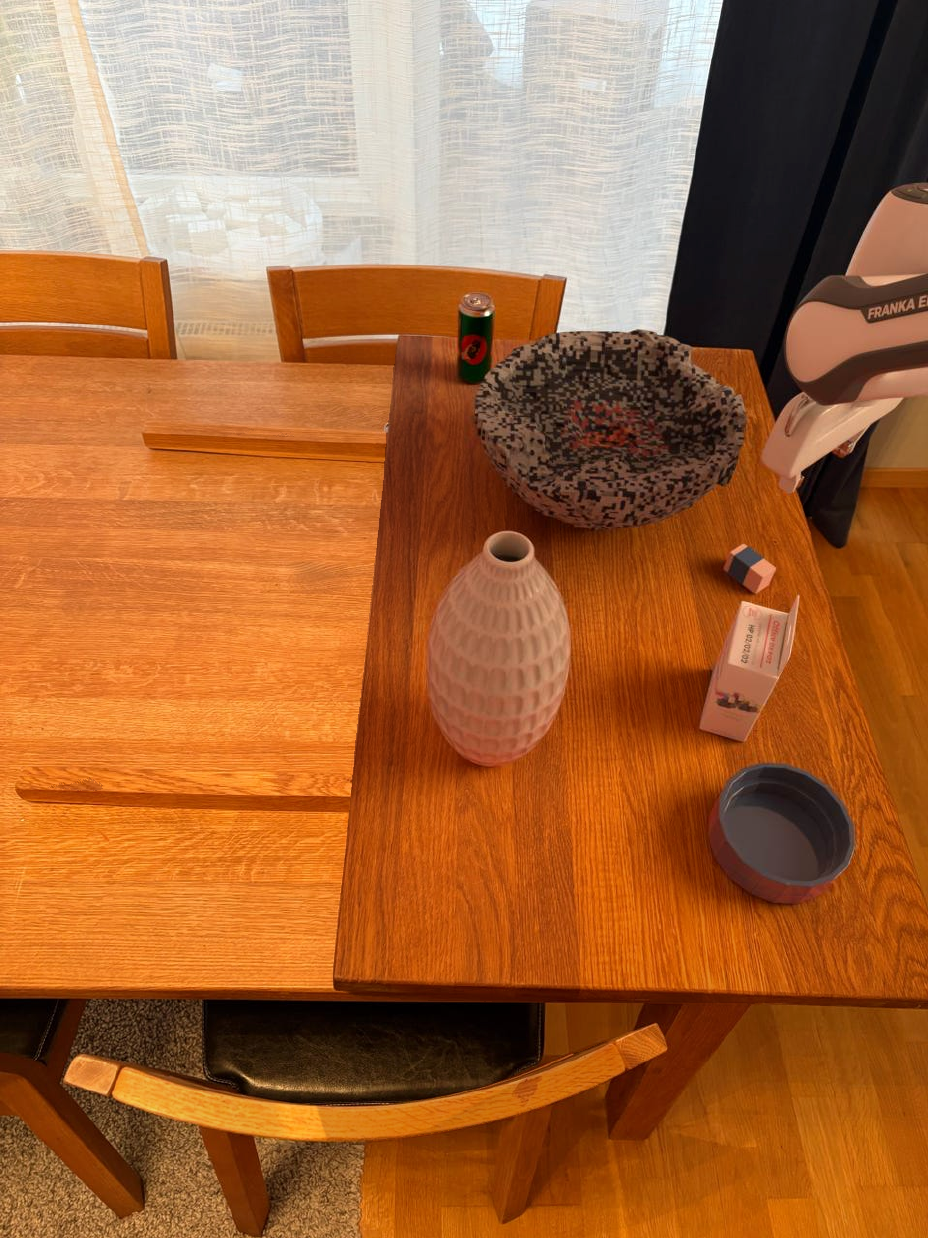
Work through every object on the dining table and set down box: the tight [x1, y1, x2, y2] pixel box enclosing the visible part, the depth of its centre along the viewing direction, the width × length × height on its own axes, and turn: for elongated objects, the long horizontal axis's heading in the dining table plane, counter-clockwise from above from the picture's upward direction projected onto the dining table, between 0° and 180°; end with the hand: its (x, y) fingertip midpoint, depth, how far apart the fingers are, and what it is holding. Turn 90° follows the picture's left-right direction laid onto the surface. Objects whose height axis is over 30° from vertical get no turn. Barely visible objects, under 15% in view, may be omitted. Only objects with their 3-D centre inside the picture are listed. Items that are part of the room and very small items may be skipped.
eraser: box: [722, 543, 777, 595], centre depth 101 cm, size 5×3×3 cm, turn 38°
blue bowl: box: [707, 762, 856, 905], centre depth 79 cm, size 12×12×4 cm
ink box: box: [698, 594, 800, 743], centre depth 84 cm, size 8×5×15 cm, turn 160°
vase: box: [425, 530, 572, 768], centre depth 76 cm, size 13×13×28 cm
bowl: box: [473, 328, 748, 531], centre depth 105 cm, size 31×31×15 cm
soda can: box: [456, 291, 496, 385], centre depth 121 cm, size 5×5×12 cm
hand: (814, 469), depth 93 cm, fingers open, 8 cm apart
